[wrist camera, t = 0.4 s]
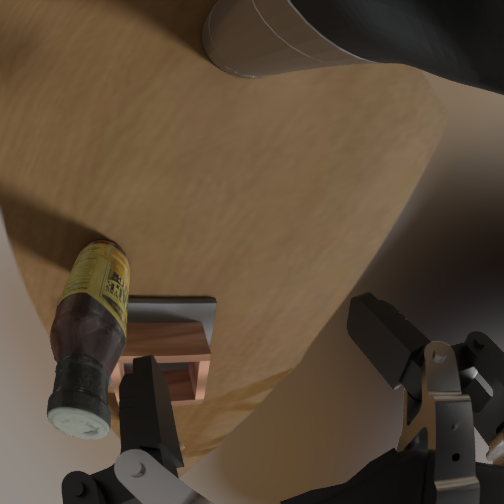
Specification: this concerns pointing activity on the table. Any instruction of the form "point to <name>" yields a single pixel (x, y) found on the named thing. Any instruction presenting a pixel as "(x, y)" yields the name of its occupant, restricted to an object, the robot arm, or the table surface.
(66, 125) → the table surface
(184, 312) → the bottle holder
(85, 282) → the sauce bottle
